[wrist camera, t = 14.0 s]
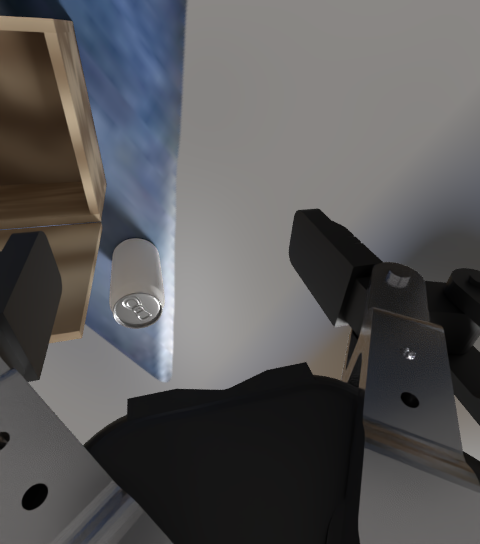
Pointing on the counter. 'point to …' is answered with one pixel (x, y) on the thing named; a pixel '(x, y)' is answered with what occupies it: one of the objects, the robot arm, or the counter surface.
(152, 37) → the counter surface
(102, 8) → the counter surface
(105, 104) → the counter surface
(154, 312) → the can
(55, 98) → the wooden box
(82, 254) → the wooden box lid
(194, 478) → the robot arm
